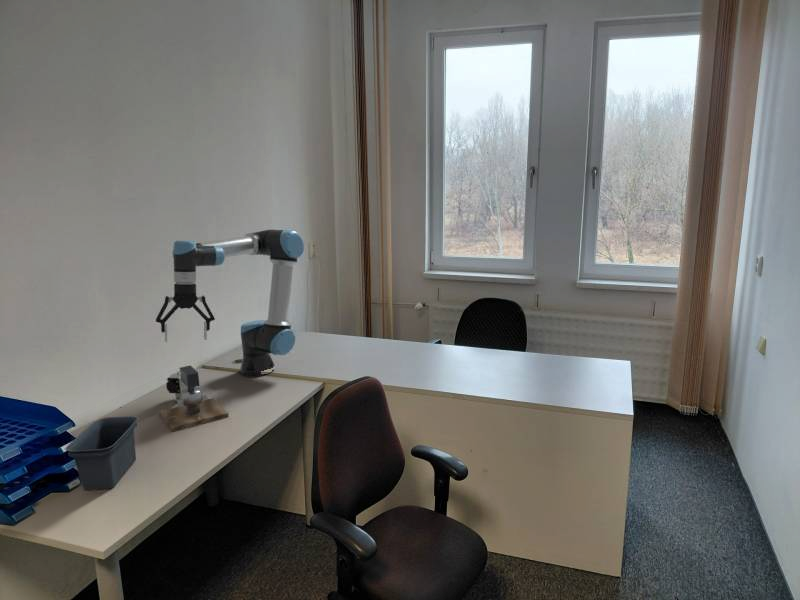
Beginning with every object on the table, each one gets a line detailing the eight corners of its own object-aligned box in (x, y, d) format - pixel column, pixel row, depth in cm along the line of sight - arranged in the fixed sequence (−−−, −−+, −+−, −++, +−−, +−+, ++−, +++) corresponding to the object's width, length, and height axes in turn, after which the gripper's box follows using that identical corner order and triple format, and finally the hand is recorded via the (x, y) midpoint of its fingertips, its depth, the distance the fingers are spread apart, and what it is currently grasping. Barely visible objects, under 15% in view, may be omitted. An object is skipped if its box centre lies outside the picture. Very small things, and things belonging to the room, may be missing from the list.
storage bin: (117, 494, 157) (110, 448, 154) (61, 497, 156) (53, 450, 153) (147, 457, 178) (141, 415, 175) (98, 459, 177) (91, 417, 174)
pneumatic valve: (195, 394, 228) (192, 366, 226) (179, 406, 217) (175, 377, 214) (183, 394, 229) (179, 366, 227) (166, 405, 218) (162, 376, 215)
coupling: (202, 395, 214) (199, 363, 211) (210, 403, 206) (206, 370, 203) (174, 401, 208) (170, 369, 205) (181, 410, 200) (177, 377, 197)
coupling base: (213, 401, 221) (212, 389, 220) (228, 416, 206) (227, 404, 205) (160, 414, 210) (158, 402, 208) (172, 431, 195) (170, 418, 194)
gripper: (147, 284, 195) (148, 343, 198) (221, 283, 205) (222, 340, 207) (148, 282, 202) (149, 339, 205) (219, 281, 211) (220, 336, 214)
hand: (186, 340), depth 206 cm, fingers open, 13 cm apart
